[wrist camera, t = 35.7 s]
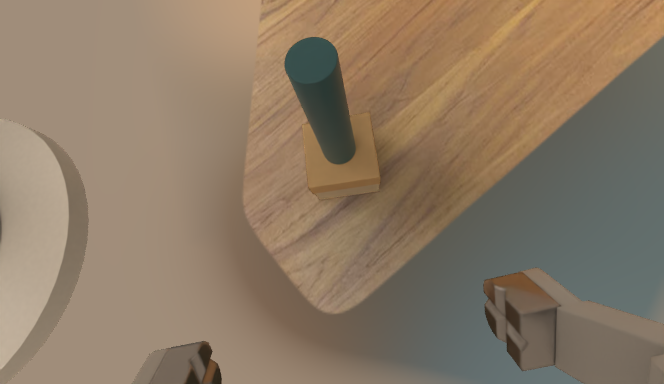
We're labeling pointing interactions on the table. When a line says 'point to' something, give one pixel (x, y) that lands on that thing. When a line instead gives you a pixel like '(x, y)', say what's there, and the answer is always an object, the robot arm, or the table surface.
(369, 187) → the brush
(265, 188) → the table surface
